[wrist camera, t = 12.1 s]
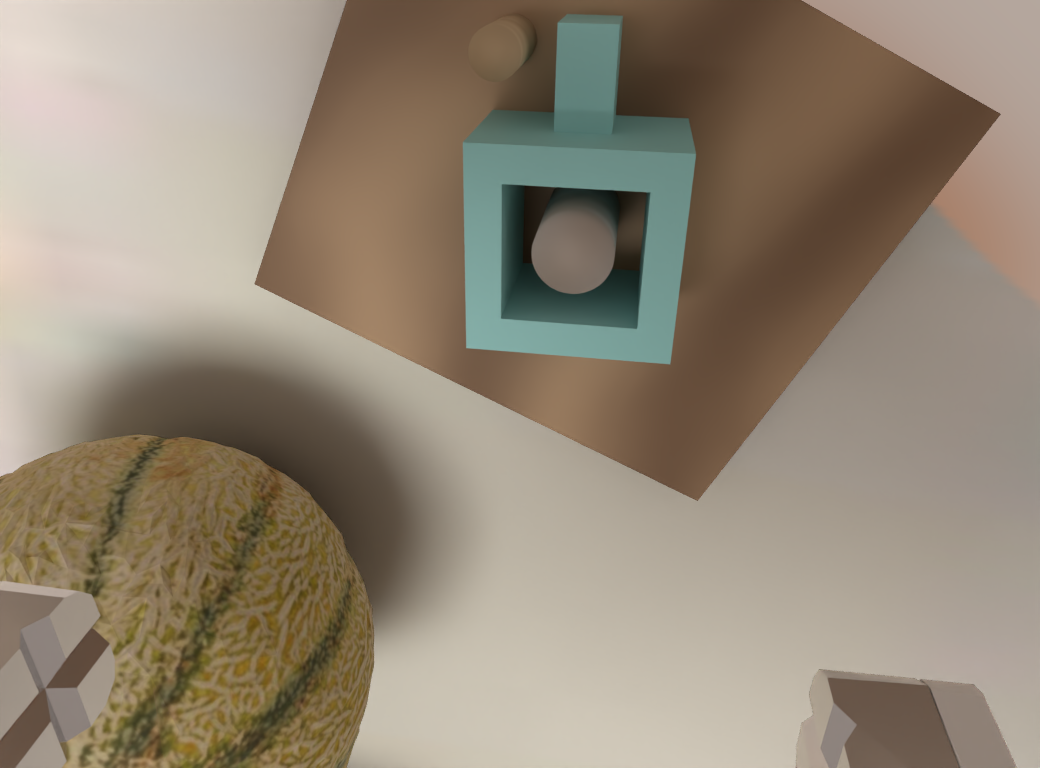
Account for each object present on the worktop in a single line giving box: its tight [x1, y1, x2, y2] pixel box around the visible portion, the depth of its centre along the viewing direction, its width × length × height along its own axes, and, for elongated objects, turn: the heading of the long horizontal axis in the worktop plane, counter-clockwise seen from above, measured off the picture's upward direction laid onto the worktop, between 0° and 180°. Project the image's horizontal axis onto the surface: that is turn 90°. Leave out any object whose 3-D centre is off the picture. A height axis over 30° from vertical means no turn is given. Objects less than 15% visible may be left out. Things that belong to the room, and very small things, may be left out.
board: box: [255, 0, 1000, 501], centre depth 21 cm, size 16×14×5 cm
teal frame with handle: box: [463, 14, 696, 364], centre depth 20 cm, size 8×5×4 cm
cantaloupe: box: [0, 434, 374, 768], centre depth 25 cm, size 15×15×15 cm
